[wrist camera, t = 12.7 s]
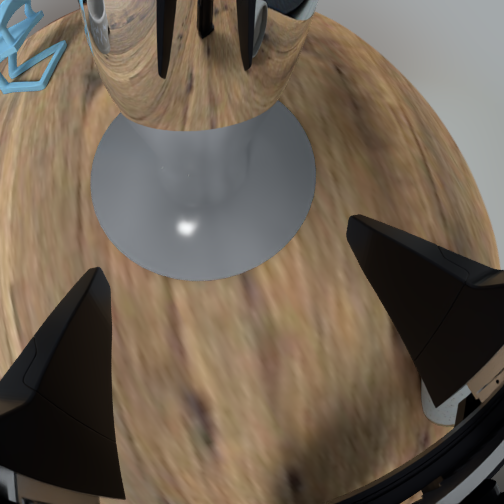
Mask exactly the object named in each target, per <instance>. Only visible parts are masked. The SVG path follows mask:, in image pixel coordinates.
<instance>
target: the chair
mask: <svg viewBox="0 0 504 504" xmlns="http://www.w3.org/2000/svg"><path fill="white" fill-rule="evenodd" d="M23 4H25V15H26V16H27V17H28V18H27V19H25V20H23V21H21V22H19V23H18V24H16V25H14V26H12V27H10V28H8V29H7V28H6V25H7V23H8V21H9V20H10V18H11V16H12V15H13V14H14V12H15V11H16V10H17V9H18V8H20V7H21V6H22V5H23ZM43 16H44V14H43V12H42V11H39V12H37V13H35V12H34V11H33V10H32V9H31V0H4V1H3V2H2V3H1V5H0V63H1V62H2V61H3V60H4V59H5V58H6V57H8V63H9V76H10V78H11V79H13V78H15V77H17V76H18V75H20V74H21V73H23V72H24V71H26V70H27V69H29V68H30V67H32V66H33V65H35V64H36V63H38V62H40V61H41V60H43V59H44V58H46V57H48V56H49V55H51V54H53V53H55V54H54V55H53V57H52V59H51V61H50V62H49V64H48V66H47V68H46V70H45V72H44V74H43V76H42V78H41V79H40V81H36V82H11V83H8V82H7V80H6V79H5V78H4V77H3V75H2V74H1V72H0V89H1V91H2V92H3V94H7V93H12V92H25V91H39V90H43V89H44V88H45V87H46V86H47V84H48V82H49V79H50V77H51V75H52V73H53V71H54V69H55V67H56V65H57V63H58V61H59V60H60V58H61V56H62V54H63V52H64V50H65V49H66V47H67V44H66V41H65V40H63V41H61V42H59V43H57V44H55V45H53V46H51V47H49V48H47V49H46V50H44V51H42V52H41V53H39V54H37V55H36V56H34V57H33V58H31V59H29V60H28V61H26V62H25V63H23V64H22V65H20V66H19V67H17V51H18V50H19V48H20V47H21V45H22V44H23V42H24V41H25V39H26V37H27V35H28V34H29V32H30V31H31V30H32V28H33V27H34V26H35V25H36V24H37V23H38V22H39V21H40V20H41V18H42V17H43Z"/></svg>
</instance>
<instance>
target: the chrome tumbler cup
mask: <svg viewBox="0 0 504 504" xmlns="http://www.w3.org/2000/svg"><path fill="white" fill-rule="evenodd" d="M78 3H79V8H80V13H81V18H82V22H83V26H84V30H85V34H86V38H87V42H88V45H89V48H90V51H91V54H92V57H93V59H94V62H95V65H96V67H97V70H98V73H99V75H100V77H101V79H102V81H103V83H104V85H105V87H106V89H107V91H108V93H109V95H110V97H111V99H112V101H113V102H114V104H115V105H116V106H117V108H118V109H119V111H120V112H121V113H122V115H123V116H124V118H125V119H126V120H127V122H128V123H129V124H130V125H131V127H132V128H133V129H134V130H135V131H136V133H137V134H138V135H139V136H140V137H141V138H142V139H143V141H144V142H145V143H146V144H147V145H148V146H149V147H150V148H151V150H152V151H153V152H154V154H155V156H156V173H157V177H158V180H159V183H160V185H161V187H162V188H163V189H164V191H165V192H166V193H167V194H168V195H169V196H170V197H172V198H173V199H175V200H176V201H178V202H180V203H183V204H186V205H189V206H196V207H203V206H210V205H214V204H217V203H220V202H222V201H224V200H226V199H228V198H229V197H230V196H232V195H233V194H234V193H235V192H236V191H237V190H238V189H239V188H240V186H241V185H242V183H243V181H244V179H245V177H246V173H247V169H248V155H247V146H248V144H249V142H250V141H251V139H252V138H253V136H254V135H255V133H256V132H257V130H258V129H259V128H260V126H261V125H262V123H263V122H264V120H265V119H266V117H267V116H268V115H269V113H270V112H271V110H272V109H273V107H274V105H275V104H276V102H277V100H278V99H279V97H280V95H281V94H282V92H283V90H284V89H285V87H286V85H287V83H288V81H289V79H290V76H291V74H292V72H293V70H294V68H295V65H296V63H297V61H298V59H299V56H300V54H301V51H302V48H303V45H304V43H305V40H306V37H307V34H308V32H309V29H310V26H311V22H312V19H313V16H314V13H315V9H316V6H317V3H318V0H78Z"/></svg>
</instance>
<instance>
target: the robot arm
mask: <svg viewBox="0 0 504 504" xmlns="http://www.w3.org/2000/svg"><path fill="white" fill-rule="evenodd" d="M346 237H347V241H348V243H349V245H350V247H351V249H352V251H353V252H354V254H355V256H356V258H357V260H358V263H359V265H360V267H361V268H362V270H363V272H364V274H365V276H366V277H367V279H368V281H369V282H370V284H371V286H372V287H373V289H374V291H375V292H376V294H377V296H378V297H379V299H380V301H381V302H382V304H383V306H384V308H385V309H386V311H387V313H388V315H389V316H390V318H391V320H392V322H393V324H394V325H395V327H396V329H397V331H398V333H399V335H400V336H401V338H402V340H403V342H404V344H405V346H406V348H407V350H408V352H409V354H410V356H411V358H412V360H413V361H414V364H415V366H416V368H417V370H418V372H419V374H420V376H421V378H422V380H423V382H424V385H425V387H426V389H427V391H428V393H429V396H430V398H431V400H432V402H433V404H434V406H435V408H438V407H439V406H440V405H442V404H443V403H444V402H446V401H447V400H448V399H450V398H451V397H452V396H453V395H455V394H456V393H457V392H458V391H460V390H461V389H462V388H463V387H465V386H466V385H467V386H468V388H469V389H470V391H471V393H470V394H469V395H467V396H466V397H465V398H464V399H463V400H462V401H460V402H459V403H458V408H457V414H456V420H455V425H454V429H452V430H451V431H450V432H449V433H447V434H446V435H445V436H444V437H442V438H441V439H440V440H438V441H437V442H436V443H434V444H433V445H432V446H430V447H429V448H427V449H426V450H425V451H423V452H422V453H420V454H419V455H417V456H416V457H414V458H413V459H411V460H409V461H408V462H406V463H405V464H403V465H401V466H400V467H398V468H396V469H395V470H393V471H391V472H390V473H388V474H386V475H384V476H382V477H380V478H379V479H377V480H375V481H373V482H371V483H369V484H367V485H365V486H363V487H361V488H359V489H356V490H354V491H352V492H350V493H348V494H345V495H343V496H341V497H338V498H336V499H333V500H331V501H328V502H325V503H323V504H400V503H401V502H403V501H405V500H406V499H408V498H409V497H411V496H413V495H414V494H416V493H417V492H419V491H420V490H422V493H423V495H422V499H420V500H418V501H416V502H414V503H412V504H504V492H502V493H501V492H500V490H499V488H498V485H497V483H496V481H495V480H492V479H491V478H492V477H493V476H494V475H495V474H496V473H497V472H498V471H499V470H500V468H501V467H502V466H503V465H504V270H497V269H493V268H490V267H488V266H485V265H483V264H481V263H478V262H476V261H473V260H471V259H468V258H466V257H464V256H461V255H459V254H456V253H454V252H452V251H450V250H447V249H445V248H443V247H440V246H437V245H436V244H434V243H431V242H429V241H427V240H424V239H422V238H419V237H417V236H415V235H412V234H410V233H407V232H405V231H402V230H400V229H397V228H395V227H392V226H390V225H387V224H385V223H382V222H379V221H377V220H374V219H372V218H369V217H366V216H363V215H361V214H358V215H352V216H350V217H349V220H348V227H347V233H346ZM111 350H112V317H111V290H110V286H109V283H108V281H107V279H106V277H105V275H104V273H103V271H102V269H101V268H100V267H95V268H91V269H89V270H88V271H87V272H86V273H85V274H84V275H83V276H82V277H81V278H80V280H79V281H78V282H77V283H76V284H75V285H74V286H73V288H72V289H71V290H70V291H69V292H68V293H67V295H66V296H65V297H64V298H63V299H62V301H61V302H60V303H59V304H58V305H57V307H56V308H55V309H54V310H53V312H52V313H51V314H50V315H49V317H48V318H47V319H46V320H45V322H44V323H43V324H42V326H41V327H40V328H39V330H38V331H37V332H36V334H35V335H34V337H33V338H32V339H31V340H30V342H29V343H28V345H27V346H26V347H25V349H24V350H23V351H22V353H21V354H20V355H19V357H18V358H17V359H16V361H15V362H14V363H13V365H12V366H11V367H10V369H9V370H8V371H7V373H6V374H5V375H4V377H3V378H2V379H1V381H0V504H100V498H99V497H101V498H110V499H121V500H125V499H126V498H125V492H124V488H123V483H122V477H121V472H120V466H119V459H118V452H117V445H116V438H115V428H114V417H113V402H112V376H111Z"/></svg>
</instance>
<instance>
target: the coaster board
mask: <svg viewBox="0 0 504 504" xmlns="http://www.w3.org/2000/svg"><path fill="white" fill-rule="evenodd" d="M247 155H248V169H247V173H246V177H245V179H244V181H243V183H242V185H241V186H240V188H239V189H238V190H237V191H236V192H235V193H234V194H233V195H232V196H230V197H229V198H228V199H226V200H224V201H222V202H220V203H217V204H214V205H210V206H203V207H196V206H189V205H186V204H183V203H180V202H178V201H176V200H175V199H173V198H172V197H170V196H169V195H168V194H167V193H166V192H165V191H164V189H163V188H162V187H161V185H160V183H159V180H158V177H157V173H156V156H155V154H154V152H153V151H152V150H151V148H150V147H149V146H148V145H147V144H146V143H145V142H144V141H143V139H142V138H141V137H140V136H139V135H138V134H137V133H136V131H135V130H134V129H133V128H132V127H131V125H130V124H129V123H128V122H127V120H126V119H125V118H124V116H123V115H122V113H120V114H119V115H118V116H117V117H116V118H115V119H114V121H113V122H112V123H111V124H110V126H109V127H108V129H107V130H106V132H105V134H104V135H103V137H102V139H101V141H100V143H99V145H98V148H97V151H96V154H95V157H94V160H93V165H92V171H91V195H92V202H93V206H94V209H95V213H96V216H97V218H98V220H99V223H100V225H101V227H102V228H103V230H104V232H105V233H106V235H107V236H108V238H109V239H110V240H111V242H112V243H113V244H114V245H115V246H116V247H117V249H118V250H119V251H121V252H122V253H123V254H124V255H125V256H127V257H128V258H129V259H130V260H132V261H133V262H135V263H136V264H138V265H140V266H141V267H143V268H145V269H147V270H150V271H152V272H154V273H157V274H159V275H163V276H167V277H170V278H174V279H179V280H187V281H211V280H218V279H224V278H228V277H231V276H235V275H238V274H241V273H244V272H246V271H248V270H250V269H252V268H255V267H257V266H258V265H260V264H262V263H263V262H265V261H266V260H268V259H270V258H271V257H273V256H274V255H275V254H276V253H277V252H279V251H280V250H281V249H282V248H283V247H284V246H285V245H286V244H287V243H288V242H289V241H290V240H291V239H292V238H293V237H294V235H295V234H296V233H297V231H298V230H299V228H300V227H301V225H302V224H303V222H304V220H305V218H306V216H307V214H308V212H309V209H310V206H311V203H312V200H313V197H314V191H315V184H316V167H315V159H314V155H313V151H312V147H311V144H310V142H309V139H308V137H307V135H306V133H305V131H304V129H303V128H302V126H301V124H300V123H299V121H298V120H297V119H296V118H295V116H294V115H293V114H292V113H291V112H290V111H289V110H288V109H287V108H286V107H285V106H284V105H283V104H282V103H281V102H280V101H278V100H277V102H276V104H275V105H274V107H273V109H272V110H271V112H270V113H269V115H268V116H267V117H266V119H265V120H264V122H263V123H262V125H261V126H260V128H259V129H258V130H257V132H256V133H255V135H254V136H253V138H252V139H251V141H250V142H249V144H248V146H247Z"/></svg>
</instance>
